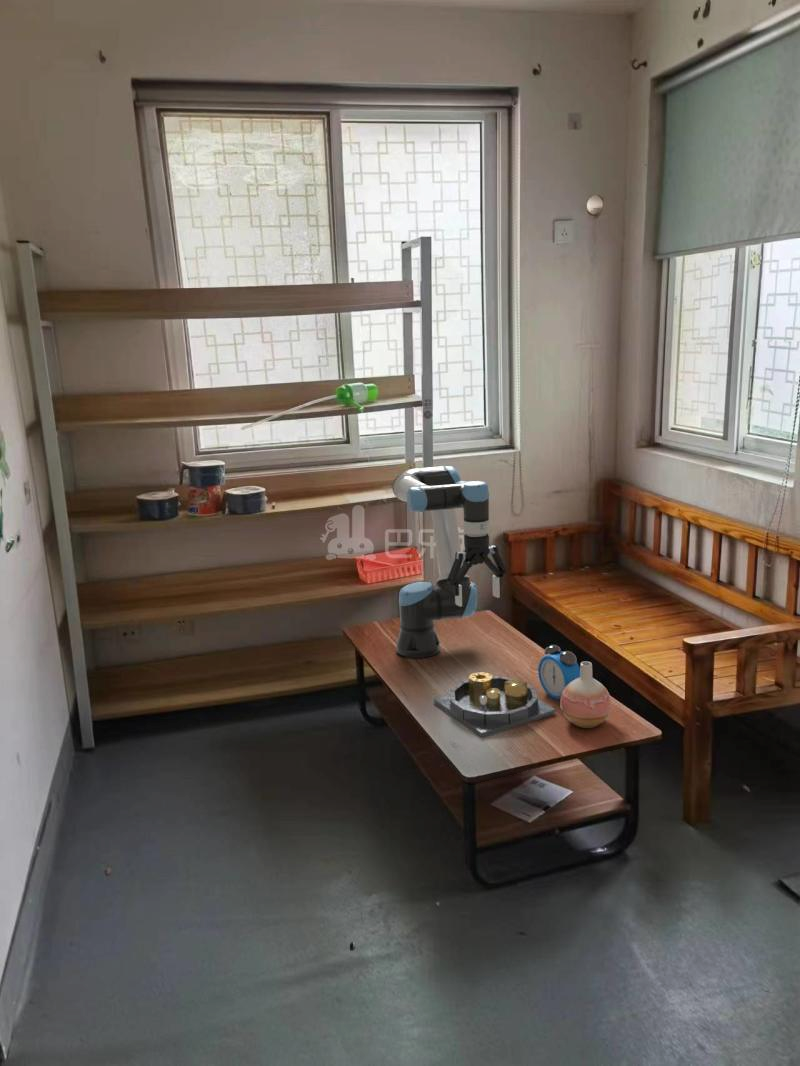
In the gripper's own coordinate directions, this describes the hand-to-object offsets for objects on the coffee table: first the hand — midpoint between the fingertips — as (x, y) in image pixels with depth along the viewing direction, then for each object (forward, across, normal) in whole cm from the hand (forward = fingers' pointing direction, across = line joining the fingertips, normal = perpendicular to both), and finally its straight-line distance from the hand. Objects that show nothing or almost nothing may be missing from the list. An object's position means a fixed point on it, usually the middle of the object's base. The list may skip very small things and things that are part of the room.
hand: (477, 600), depth 244 cm
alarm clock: (+26, +13, -23) cm, 37 cm away
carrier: (+26, -8, -19) cm, 33 cm away
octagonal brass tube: (+24, -8, -13) cm, 28 cm away
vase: (+26, +8, -40) cm, 48 cm away
